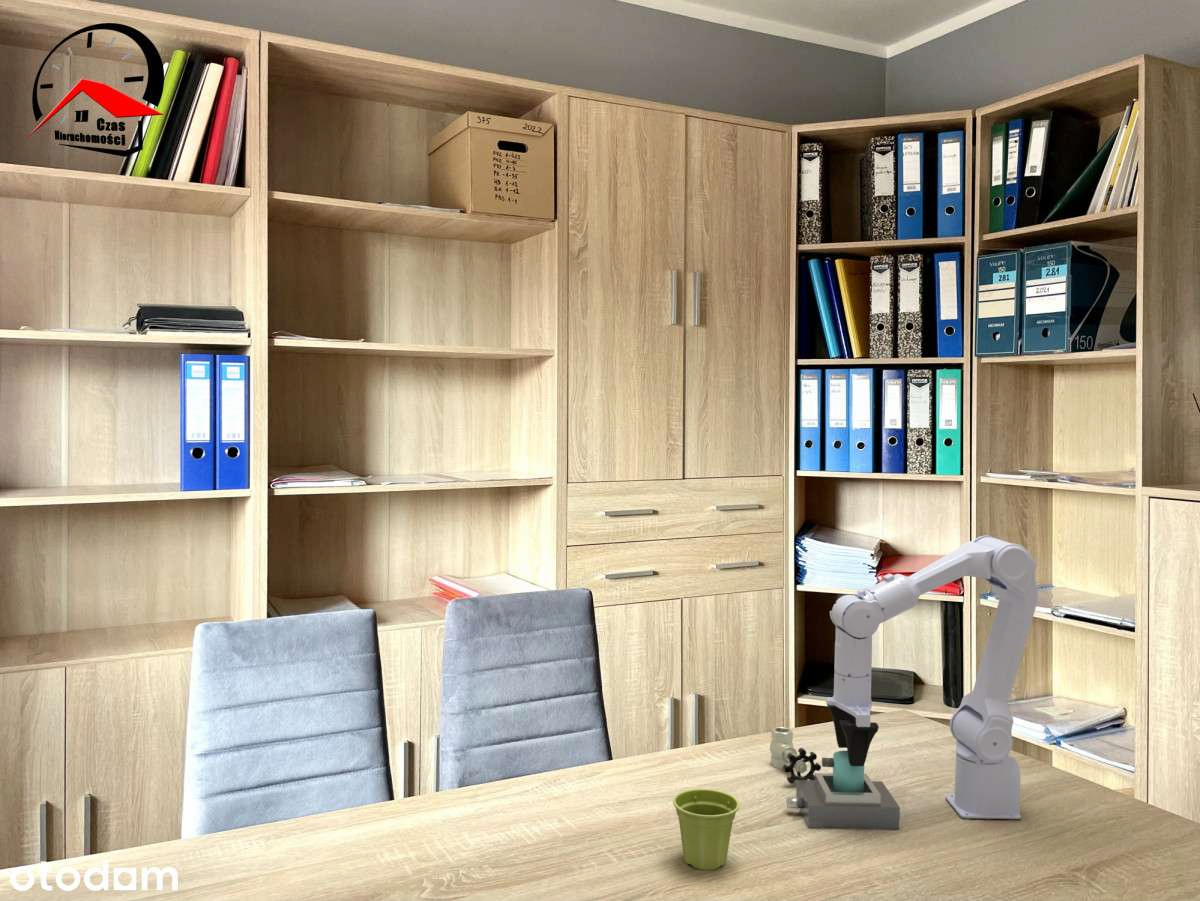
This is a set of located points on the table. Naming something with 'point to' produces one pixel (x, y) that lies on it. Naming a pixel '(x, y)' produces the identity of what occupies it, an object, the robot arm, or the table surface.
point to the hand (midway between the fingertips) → (850, 756)
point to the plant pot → (705, 826)
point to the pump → (845, 773)
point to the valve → (790, 755)
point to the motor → (845, 805)
